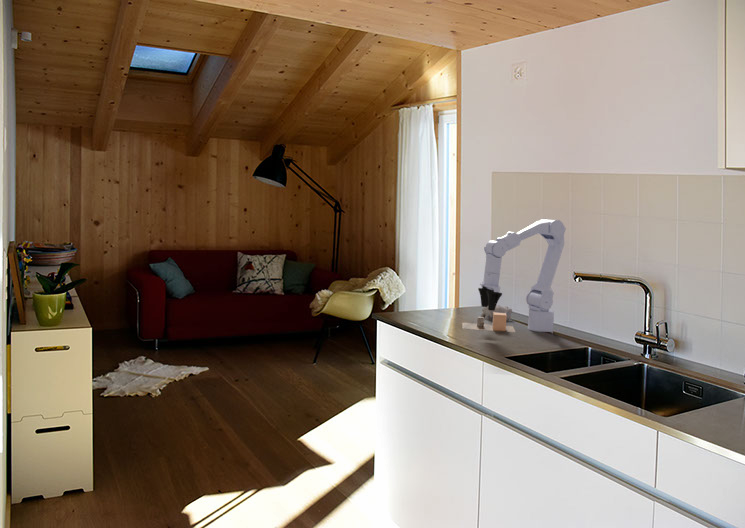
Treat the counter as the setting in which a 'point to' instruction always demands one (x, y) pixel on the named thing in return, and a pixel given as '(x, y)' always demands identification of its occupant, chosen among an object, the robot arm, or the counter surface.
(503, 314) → the light orange block
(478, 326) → the board
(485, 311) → the stone
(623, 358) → the counter surface
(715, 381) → the counter surface
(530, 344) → the counter surface
